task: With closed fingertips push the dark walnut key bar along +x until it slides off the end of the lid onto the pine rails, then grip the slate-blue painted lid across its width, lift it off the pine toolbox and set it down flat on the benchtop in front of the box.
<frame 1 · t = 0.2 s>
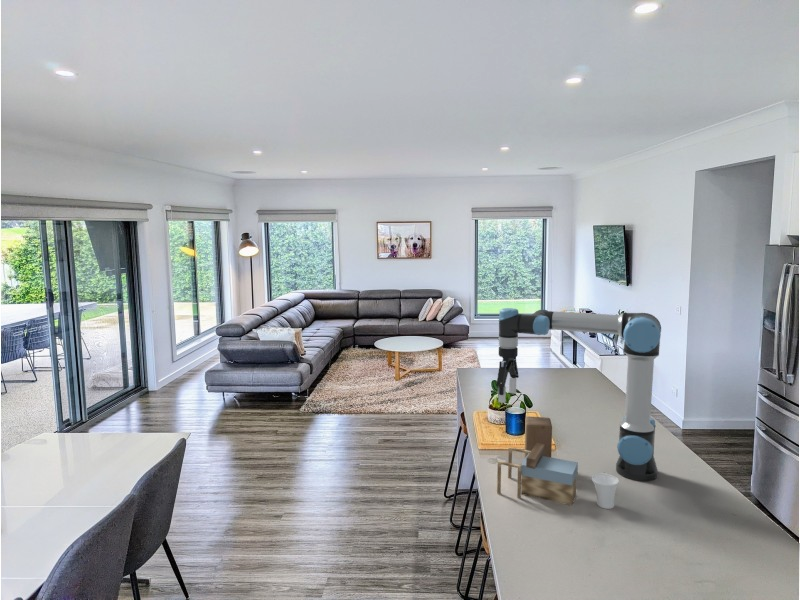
hand: (507, 397, 221), 28 cm above the kitchen island, fingers open, 13 cm apart
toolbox: (548, 494, 197), on the kitchen island
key: (535, 455, 198), point 14 cm above the kitchen island, slide at 0.0 cm
wooden block: (537, 468, 219), on the kitchen island
lid: (549, 473, 196), point 8 cm above the kitchen island, touching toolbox
cup: (604, 505, 190), on the kitchen island
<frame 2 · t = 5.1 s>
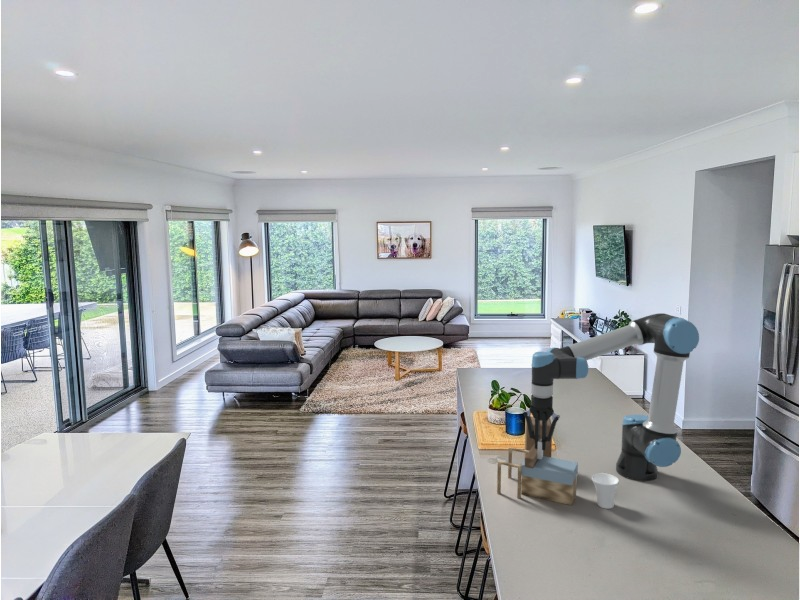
hand: (540, 457, 197), 14 cm above the kitchen island, fingers closed
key: (534, 455, 198), point 14 cm above the kitchen island, slide at 0.6 cm, touching gripper
everything else where it was.
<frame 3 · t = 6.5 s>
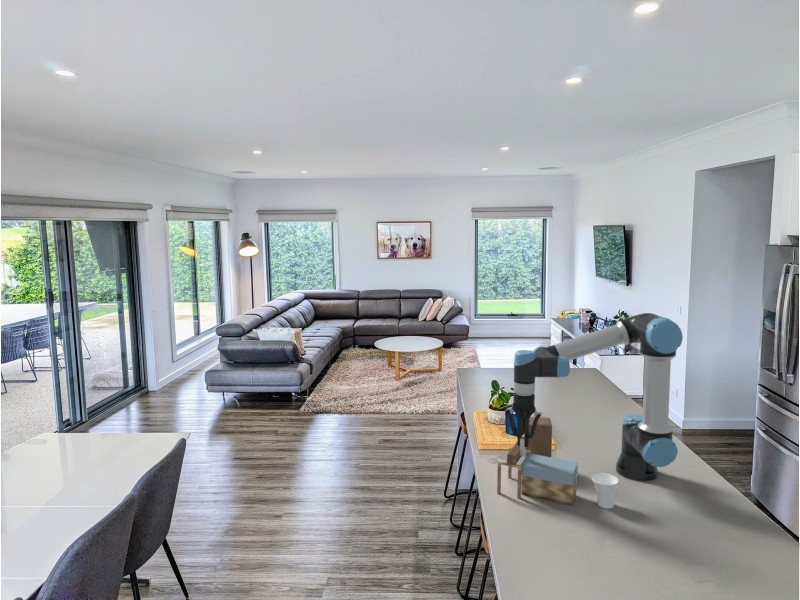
hand: (522, 454, 200), 13 cm above the kitchen island, fingers closed
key: (516, 452, 201), point 14 cm above the kitchen island, slide at 7.0 cm, touching gripper
everything else where it was.
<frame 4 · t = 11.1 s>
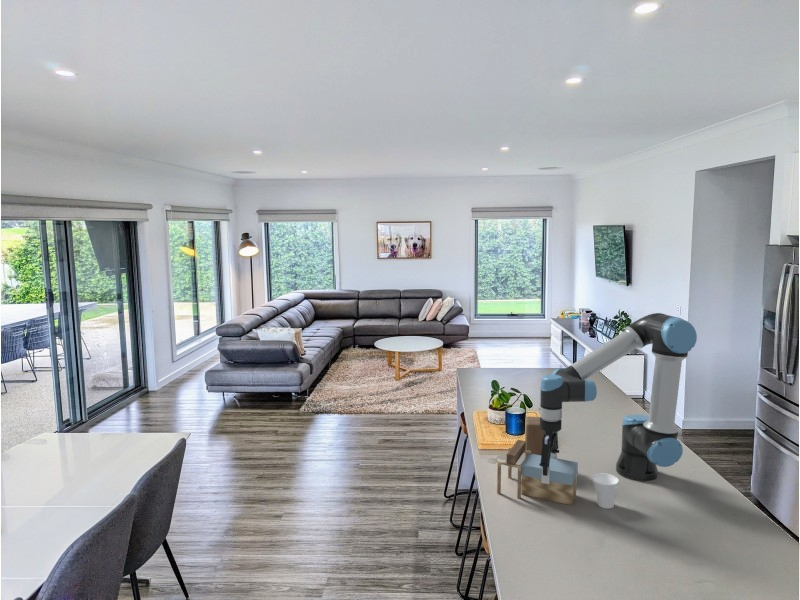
hand: (549, 476, 196), 7 cm above the kitchen island, fingers closed on lid, 11 cm apart
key: (516, 451, 201), point 14 cm above the kitchen island, slide at 7.2 cm
lid: (549, 473, 196), point 8 cm above the kitchen island, touching gripper, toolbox
everything else where it was.
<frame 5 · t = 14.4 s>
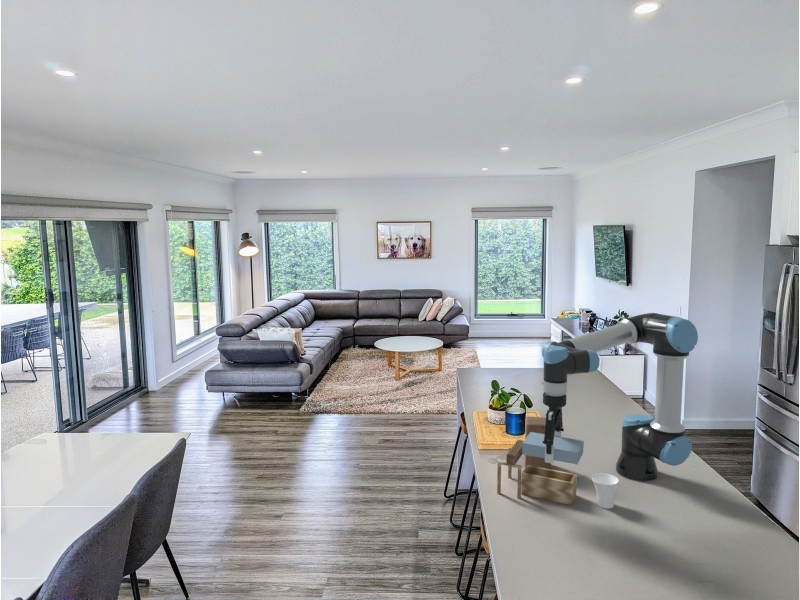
hand: (552, 455, 183), 20 cm above the kitchen island, fingers closed on lid, 11 cm apart
lid: (552, 453, 183), point 21 cm above the kitchen island, touching gripper
everything else where it was.
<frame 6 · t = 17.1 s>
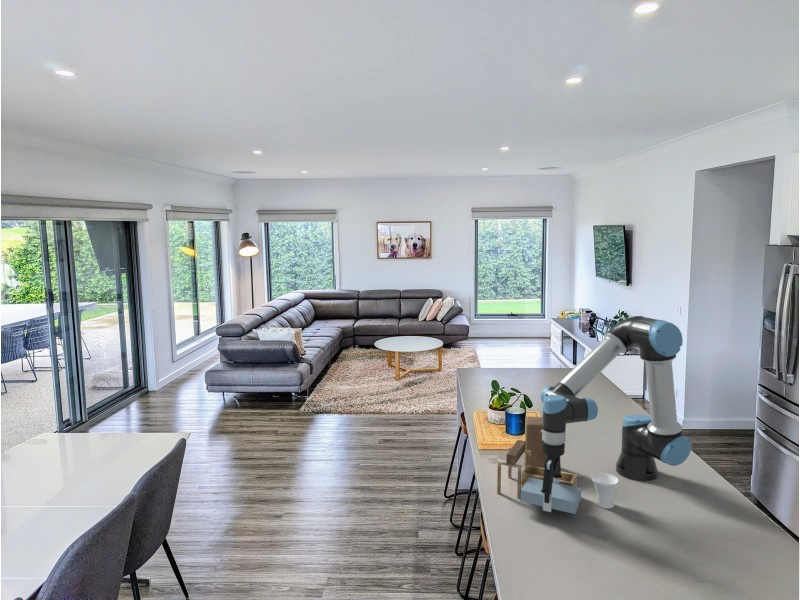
hand: (550, 503, 185), 3 cm above the kitchen island, fingers closed on lid, 11 cm apart
lid: (550, 500, 185), point 4 cm above the kitchen island, touching gripper
everything else where it was.
when the fingers open (2 cm above the kitchen island, at t = 18.2 s): lid drops 4 cm, on the kitchen island.
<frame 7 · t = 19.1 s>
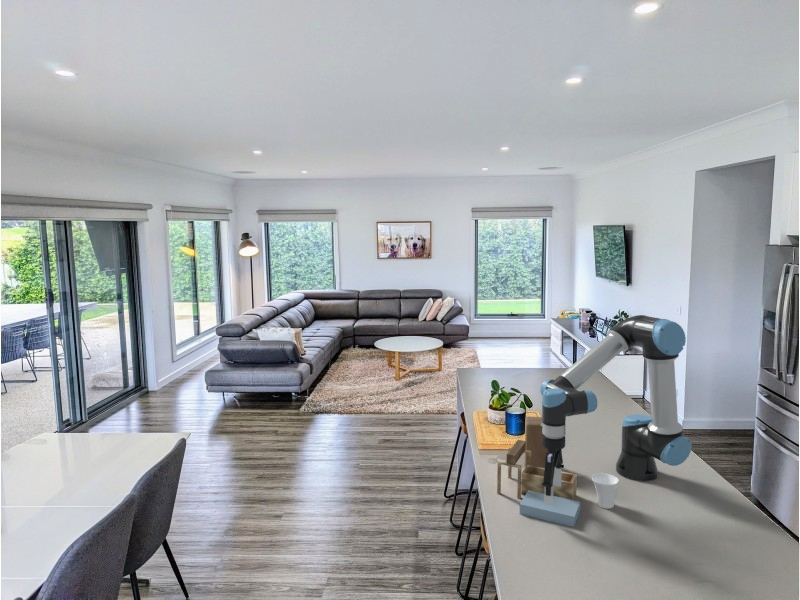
hand: (553, 494, 185), 6 cm above the kitchen island, fingers open, 13 cm apart
lid: (549, 513, 185), on the kitchen island
everything else where it was.
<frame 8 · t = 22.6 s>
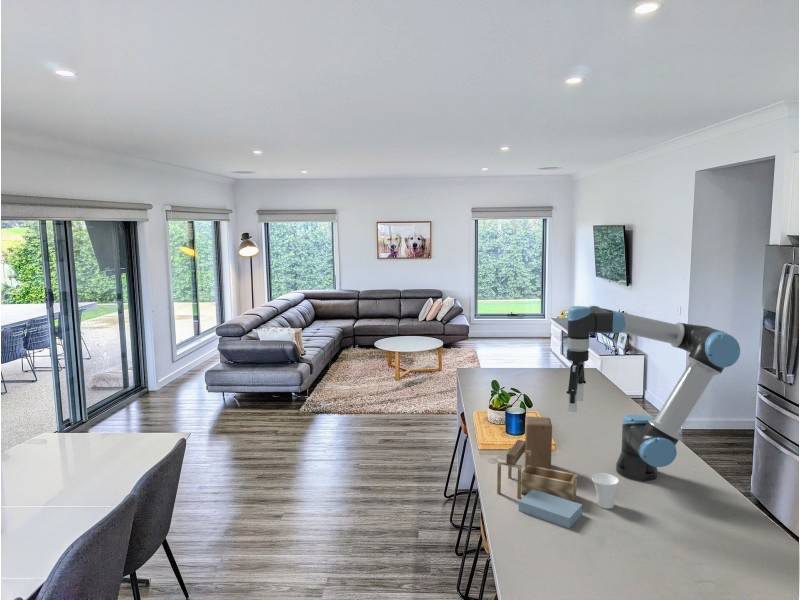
hand: (575, 405, 198), 32 cm above the kitchen island, fingers open, 13 cm apart
at the end: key slide at 7.2 cm; lid inside the target area (0.5 cm from its centre), on the kitchen island; lid tilted 0° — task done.
